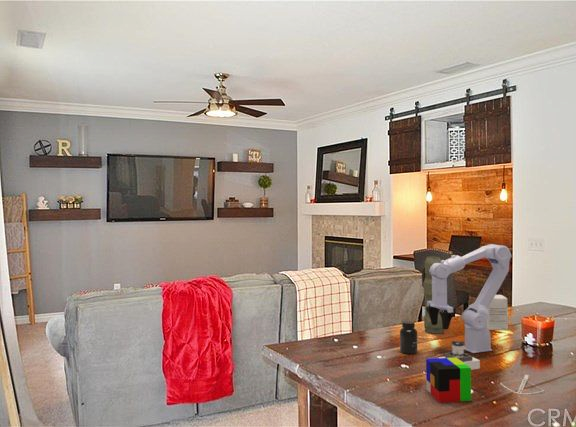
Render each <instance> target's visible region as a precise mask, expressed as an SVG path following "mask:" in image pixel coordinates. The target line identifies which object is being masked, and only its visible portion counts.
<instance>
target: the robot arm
mask: <svg viewBox="0 0 576 427" xmlns="http://www.w3.org/2000/svg"><path fill="white" fill-rule="evenodd" d="M512 256H513V255H512V253H511V250H510V249H509V248H508V246H506V245H501V244H500V245H499V244H494V243H488V244H487V245H483V246H481V247H479V248H478V249H474V250H473V251H471V252H468V253H466V254H465V255H463V256H460V255H457V254H456V255H455V254H453V255H451V257H449V258H447V259H445V260H444V259H441V263H434V264H433V265H432V266H431V268H430V269H429V272H430V274H431V275H432V301H427V306H429V307H426V310H427V312H428V314H429V316H430V320H431V324H432V325H437V322H438V313H440V315H441V318H442V326H443V329H444V331H446V330H449V328H450V325H451V321H452V319H453V316H454V315H455V312H454V307H453V306H450V305H449V304H448V282H447V280H448V279H447V278H448V277H449V275H451V274H453V273H455V272H458V271H461V270H463V269H464V268H465V266H466V265H467V264H470V263H472V262H475V261H478V260H481V259H484V258H485V259H487V260H488V262H489V263H490V265H491V268H492V270H491V272H490V274H489V276H488V278H487V279H486V281H485V283H484V285H483V287H481V288H482V289H481V291H480V292H479V293H478V296H477V298H476V299H475V301H474V302H472V303H471V304H469V305H468V307H467V308H466V309H465V310H464V311H463V312H462V314H461V320H462V322H463V323H464V351H467V352H469V353H472V354H476V353H477V354H478V353H485V352H491V351H493V349H492V347H491V346H492V345H491V343H492V342H491V341H492V340H491V338H492V337H491V330H489V329H488V328H486V327H485V326H486V324H487V318H488V316H489V313H488V308H489V306H490V304H491V302H492V300H493V299H494V297H495V295H497V292H499V290H500V288H501V286H502V285H503V282H504V281H505V279H506V277H507V275H508V273H509V271H510V261H511V258H512ZM440 309H441V310H443V311H442V312H439V310H440Z"/></svg>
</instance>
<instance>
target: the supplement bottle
mask: <svg viewBox="0 0 576 427" xmlns="http://www.w3.org/2000/svg"><path fill="white" fill-rule="evenodd" d="M415 325H416V324H415V322H414V321H410V320H404V321H402V325H401V327H402V328H401V329H400V330H399V351H400V353H402V354H406V355H414V354H418V330H417V329H416V328H415V327H416V326H415Z"/></svg>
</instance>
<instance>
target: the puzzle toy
mask: <svg viewBox="0 0 576 427" xmlns="http://www.w3.org/2000/svg"><path fill="white" fill-rule="evenodd" d="M425 368H426V369H425V371H426V373H425V374H426V379H425V380H426V381H425V382H426V391H427V390H428V391H429V392H430V393H431V396H432V397H433V398H434V399H435V400H436V401H437V402H438V403H453V402H466V401H467V402H472V370H471V368H470V367H469V366H467V365H466V364H465V363H463V362H462V361H461V360H459V359H458V358H456V357H455V358H438V357H437V358H435V357H434V358H433V357H432V358H426V359H425ZM428 391H427V392H428ZM429 392H428V393H429ZM430 393H429V394H430Z"/></svg>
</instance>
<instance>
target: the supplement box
mask: <svg viewBox="0 0 576 427" xmlns="http://www.w3.org/2000/svg"><path fill="white" fill-rule="evenodd" d="M508 300H509V299H508V298H507V297H506V296H505V295H502V294H496V295H495V297H494V299H493V300H492V302H491V304H490V306H489V308H488V313H489V316H488V318H487V324H486V326H485V327H486V328H488V329H489V331H494V330H495V331H508V330H509V323H508V322H509V321H508V320H509V319H508V315H509V314H508V311H509V310H508V308H509V306H508V303H509V302H508Z"/></svg>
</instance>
